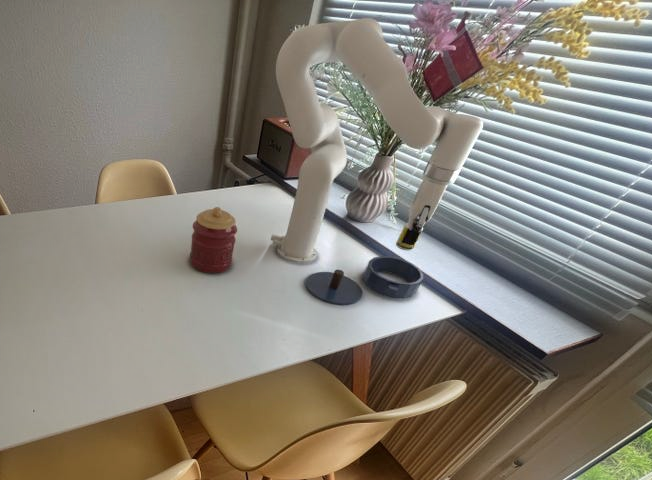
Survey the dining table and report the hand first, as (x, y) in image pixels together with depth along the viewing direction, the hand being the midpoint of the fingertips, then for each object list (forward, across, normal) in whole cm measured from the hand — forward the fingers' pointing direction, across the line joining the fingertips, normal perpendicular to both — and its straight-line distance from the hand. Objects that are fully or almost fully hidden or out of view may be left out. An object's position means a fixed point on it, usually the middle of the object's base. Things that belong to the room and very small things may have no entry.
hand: (408, 238), depth 118 cm
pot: (+15, 0, +1) cm, 15 cm away
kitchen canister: (+16, +14, -51) cm, 56 cm away
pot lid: (+15, +11, -14) cm, 23 cm away
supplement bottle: (+3, 0, 0) cm, 3 cm away
